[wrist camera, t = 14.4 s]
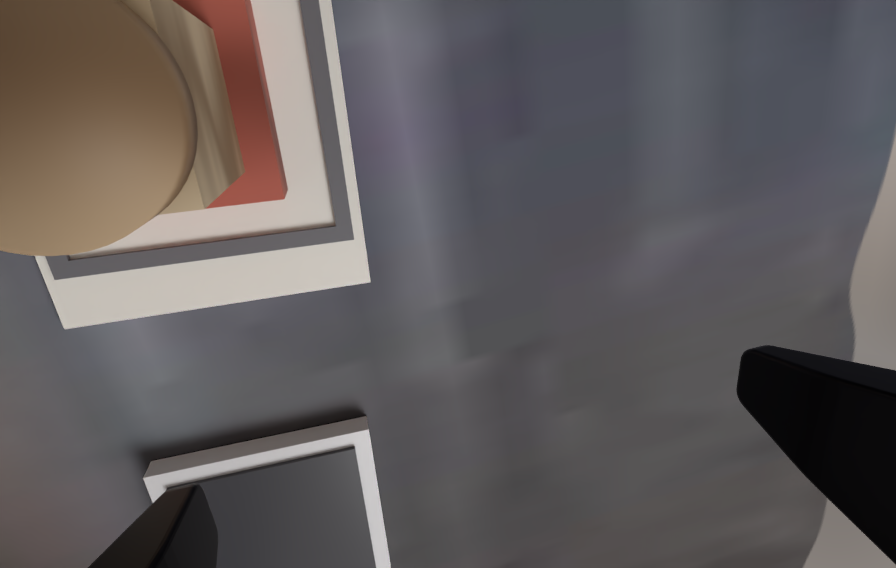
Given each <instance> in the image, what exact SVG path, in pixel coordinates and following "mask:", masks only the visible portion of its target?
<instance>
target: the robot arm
mask: <svg viewBox="0 0 896 568" xmlns="http://www.w3.org/2000/svg"><path fill="white" fill-rule="evenodd" d="M737 395H738V398H739V400H740V402H741V403H742V405H743V406H744V407H745V408H746V409H747V411H748V412H749V413H750V414H751V415H752V416H753V417H754V419H755V420H756V421H757V422H758V423H759V424H760V425H761V427H762V428H763V429H764V430H765V431H766V432H767V433H768V435H769V436H770V437H771V438H772V439H773V440H774V441H775V443H776V444H777V445H778V446H779V447H780V448H781V449H782V451H783V452H784V453H785V454H786V455H787V456H788V457H789V459H790V460H791V461H792V462H793V463H794V464H795V465H796V466H797V468H798V469H799V470H800V471H801V472H802V473H803V474H804V475H805V476H806V477H807V478H808V479H809V480H810V481H811V482H812V483H813V484H814V485H815V486H816V487H817V488H818V489H819V490H820V491H821V492H822V493H823V494H824V495H825V496H826V497H827V498H828V499H829V500H830V501H831V502H832V503H833V504H834V505H835V506H836V507H837V508H838V509H839V510H840V511H841V512H842V513H843V514H844V515H845V516H846V517H848V518H849V520H851V521H852V522H853V523H854V524H855V525H856V526H857V527H858V528H859V529H860V530H861V531H862V532H863V533H864V534H865V535H866V536H867V537H868V538H869V539H870V540H871V541H872V542H873V543H874V544H875V545H876V546H877V547H878V548H879V549H880V550H881V551H882V552H883V553H884V554H886V556H888V557H889V558H890V559H891V560H892V561H893V562H894V563H895V564H896V371H895V370H890V369H885V368H880V367H875V366H870V365H865V364H860V363H855V362H850V361H845V360H840V359H835V358H830V357H825V356H820V355H815V354H810V353H805V352H800V351H795V350H790V349H785V348H780V347H775V346H770V345H766V346H760V347H756V348H752V349H748V350H746V351H745V352H744V353H743V355H742V357H741V362H740V369H739V375H738V382H737ZM217 553H218V530H217V526H216V523H215V520H214V517H213V514H212V512H211V509H210V506H209V503H208V501H207V498H206V495H205V492H204V490H203V488H202V487H201V486H200V485H199V484H196V483H192V484H188V485H184V486H180V487H176V488H172V489H169V490H167V491H165V492H164V493H163V494H162V495H161V496H160V497H159V498H158V499H157V500H156V501H155V502H154V503H153V504H152V505H151V506H150V507H149V508H148V509H147V510H146V511H145V512H144V513H143V514H142V515H141V516H140V517H139V518H137V519H136V520H135V521H134V522H133V523H132V524H131V525H130V526H129V527H128V528H127V529H126V530H125V531H124V532H123V533H122V534H121V535H120V536H119V537H118V538H117V539H116V540H115V541H114V542H113V543H112V544H111V545H110V546H109V547H108V548H107V549H106V550H105V551H104V552H103V553H102V554H101V555H100V556H99V557H98V558H97V559H96V560H95V561H94V562H93V563H92V564H91V565H90V566H89V567H88V568H216V565H217Z"/></svg>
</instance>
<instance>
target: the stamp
mask: <svg viewBox="0 0 896 568" xmlns="http://www.w3.org/2000/svg"><path fill="white" fill-rule="evenodd" d="M287 191H288V187H287V182H286V177H285V172H284V167H283V161H282V156H281V151H280V146H279V141H278V136H277V131H276V126H275V121H274V116H273V111H272V106H271V101H270V96H269V91H268V86H267V80H266V75H265V70H264V65H263V60H262V55H261V50H260V45H259V40H258V35H257V30H256V25H255V20H254V15H253V10H252V4H251V1H250V0H0V251H5V252H9V253H16V254H23V255H32V256H60V255H72V254H77V253H83V252H88V251H92V250H95V249H98V248H101V247H104V246H108V245H110V244H112V243H114V242H116V241H118V240H120V239H122V238H124V237H126V236H127V235H129V234H131V233H132V232H134V231H135V230H137V229H138V228H140V227H141V226H143V225H144V224H145V223H147V222H148V221H150V220H151V219H153V218H154V217H156V216H157V215H161V214H169V213H178V212H186V211H194V210H203V209H208V208H216V207H224V206H233V205H241V204H250V203H258V202H266V201H275V200H283V199H285V197H286V194H287Z"/></svg>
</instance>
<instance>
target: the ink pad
mask: <svg viewBox="0 0 896 568" xmlns="http://www.w3.org/2000/svg"><path fill="white" fill-rule="evenodd" d="M143 479H144V482H145V484H146V487H147V490H148V492H149V495H150V497H151V500H152V502H153V503H154V502H155V501H156V500H157V499H158V498H159V497H160V496H161V495H162V494H163V493H164V492H165V491H167V490H169V489H172V488H176V487H180V486H184V485H188V484H192V483H196V484H199V485H200V486H201V487H202V488H203V490H204V492H205V495H206V498H207V501H208V503H209V506H210V509H211V512H212V514H213V517H214V520H215V523H216V526H217V530H218V553H217V565H216V568H391V565H390V558H389V552H388V546H387V540H386V534H385V527H384V521H383V515H382V509H381V502H380V496H379V490H378V484H377V478H376V471H375V465H374V459H373V453H372V447H371V440H370V434H369V428H368V422H367V416H364V417H360V418H355V419H350V420H345V421H340V422H336V423H331V424H326V425H321V426H317V427H312V428H307V429H302V430H298V431H293V432H288V433H283V434H278V435H274V436H269V437H264V438H259V439H255V440H250V441H245V442H240V443H236V444H231V445H226V446H221V447H216V448H212V449H207V450H202V451H197V452H193V453H188V454H183V455H178V456H174V457H169V458H164V459H159V460H154V461H151V462H150V464H149V466H148V469H147V471H146V473H145V475H144V477H143Z"/></svg>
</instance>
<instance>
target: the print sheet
mask: <svg viewBox="0 0 896 568" xmlns="http://www.w3.org/2000/svg"><path fill="white" fill-rule="evenodd" d="M250 1H251V4H252V10H253V15H254V20H255V25H256V30H257V35H258V40H259V45H260V50H261V55H262V60H263V65H264V70H265V75H266V80H267V86H268V91H269V96H270V101H271V106H272V111H273V116H274V121H275V126H276V131H277V136H278V141H279V146H280V151H281V156H282V161H283V167H284V172H285V177H286V182H287V187H288V191H287V194H286V197H285V199H283V200H275V201H266V202H258V203H250V204H241V205H233V206H224V207H216V208H208V209H203V210H194V211H186V212H178V213H169V214H161V215H157V216H156V217H154V218H153V219H151V220H150V221H148V222H147V223H145V224H144V225H143V226H141V227H140V228H138V229H137V230H135V231H134V232H132V233H131V234H129V235H127V236H126V237H124V238H122V239H120V240H118V241H116V242H114V243H112V244H110V245H108V246H104V247H101V248H98V249H95V250H92V251H88V252H83V253H77V254H72V255H60V256H35V258H36V261H37V263H38V266H39V268H40V270H41V273H42V275H43V278H44V280H45V283H46V285H47V288H48V290H49V293H50V295H51V298H52V300H53V303H54V305H55V308H56V310H57V313H58V315H59V317H60V320H61V322H62V325H63V327H64V329H70V328H76V327H83V326H89V325H96V324H102V323H109V322H115V321H122V320H128V319H135V318H141V317H148V316H154V315H161V314H167V313H174V312H180V311H187V310H193V309H200V308H206V307H213V306H219V305H226V304H232V303H239V302H245V301H252V300H258V299H265V298H271V297H278V296H284V295H291V294H297V293H304V292H310V291H317V290H323V289H330V288H336V287H343V286H349V285H356V284H362V283H369V282H370V275H369V268H368V260H367V253H366V246H365V239H364V232H363V225H362V218H361V211H360V203H359V196H358V189H357V182H356V175H355V168H354V161H353V154H352V146H351V139H350V132H349V125H348V118H347V111H346V104H345V97H344V89H343V82H342V75H341V68H340V61H339V54H338V47H337V40H336V32H335V25H334V18H333V11H332V4H331V0H250Z"/></svg>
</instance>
